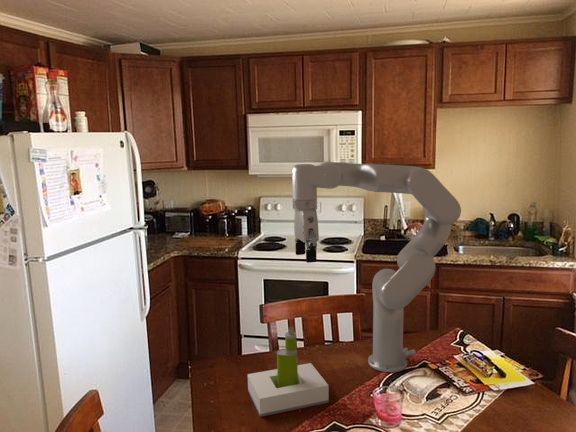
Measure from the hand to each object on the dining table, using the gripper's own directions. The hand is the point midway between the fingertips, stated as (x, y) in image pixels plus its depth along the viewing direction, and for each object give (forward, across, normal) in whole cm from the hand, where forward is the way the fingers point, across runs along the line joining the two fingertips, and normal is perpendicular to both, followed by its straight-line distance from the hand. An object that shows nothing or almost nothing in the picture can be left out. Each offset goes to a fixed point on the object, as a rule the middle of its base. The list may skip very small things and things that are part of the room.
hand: (305, 258), depth 151 cm
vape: (+36, -15, +12) cm, 40 cm away
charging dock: (+36, -16, +12) cm, 41 cm away
